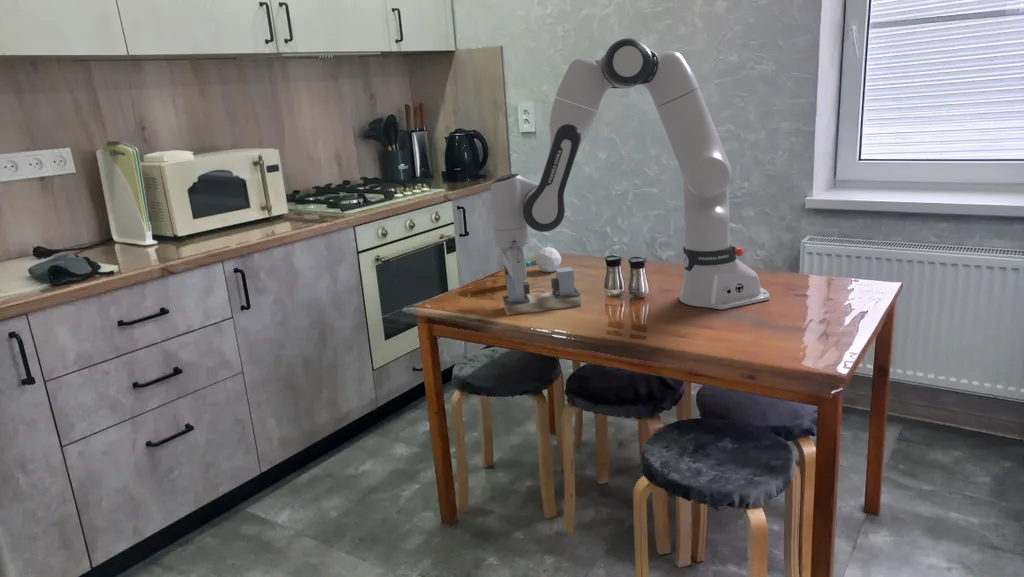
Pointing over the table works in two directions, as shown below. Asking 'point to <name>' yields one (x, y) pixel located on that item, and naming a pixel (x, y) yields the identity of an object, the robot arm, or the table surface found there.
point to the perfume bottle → (546, 260)
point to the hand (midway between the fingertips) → (516, 288)
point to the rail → (541, 302)
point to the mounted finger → (563, 281)
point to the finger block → (511, 290)
